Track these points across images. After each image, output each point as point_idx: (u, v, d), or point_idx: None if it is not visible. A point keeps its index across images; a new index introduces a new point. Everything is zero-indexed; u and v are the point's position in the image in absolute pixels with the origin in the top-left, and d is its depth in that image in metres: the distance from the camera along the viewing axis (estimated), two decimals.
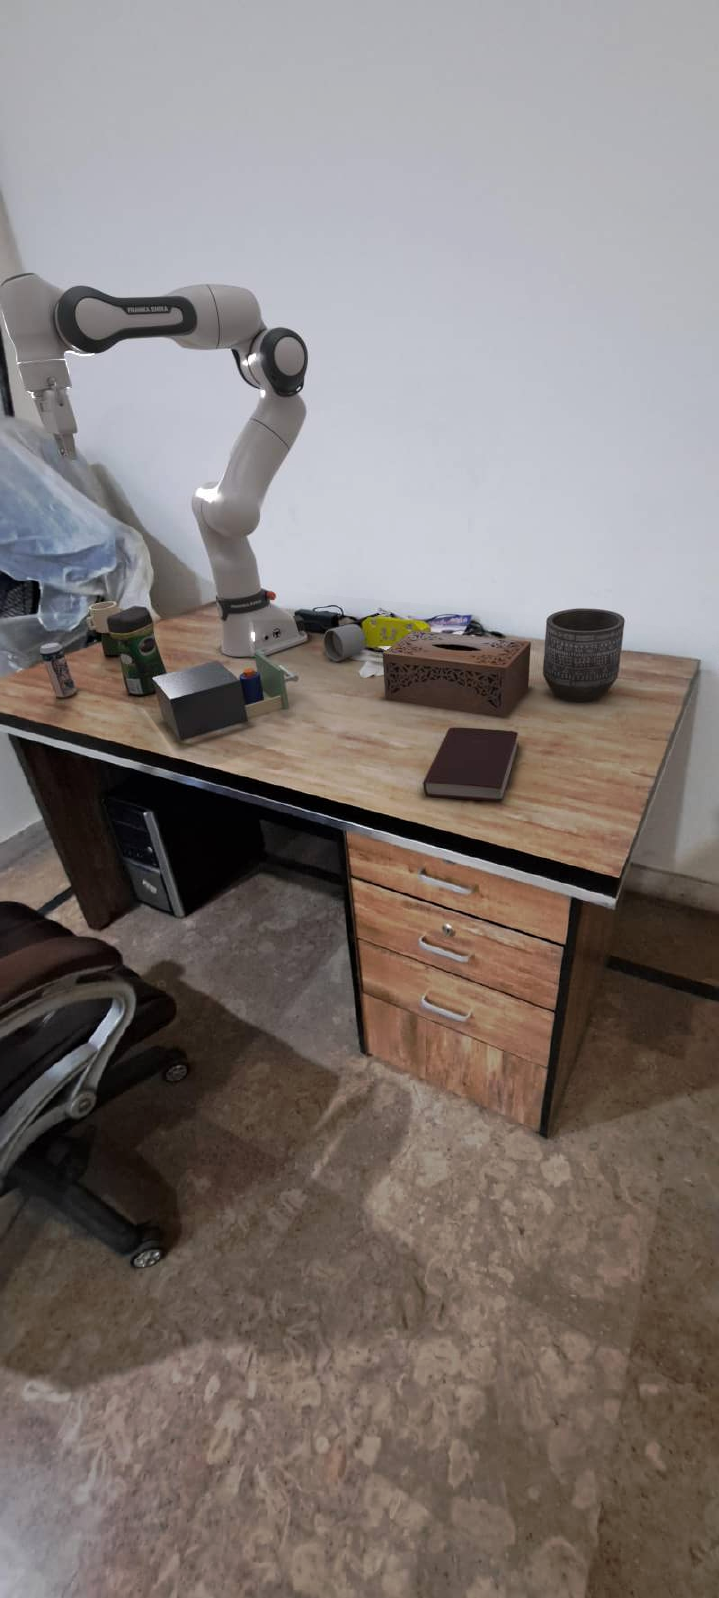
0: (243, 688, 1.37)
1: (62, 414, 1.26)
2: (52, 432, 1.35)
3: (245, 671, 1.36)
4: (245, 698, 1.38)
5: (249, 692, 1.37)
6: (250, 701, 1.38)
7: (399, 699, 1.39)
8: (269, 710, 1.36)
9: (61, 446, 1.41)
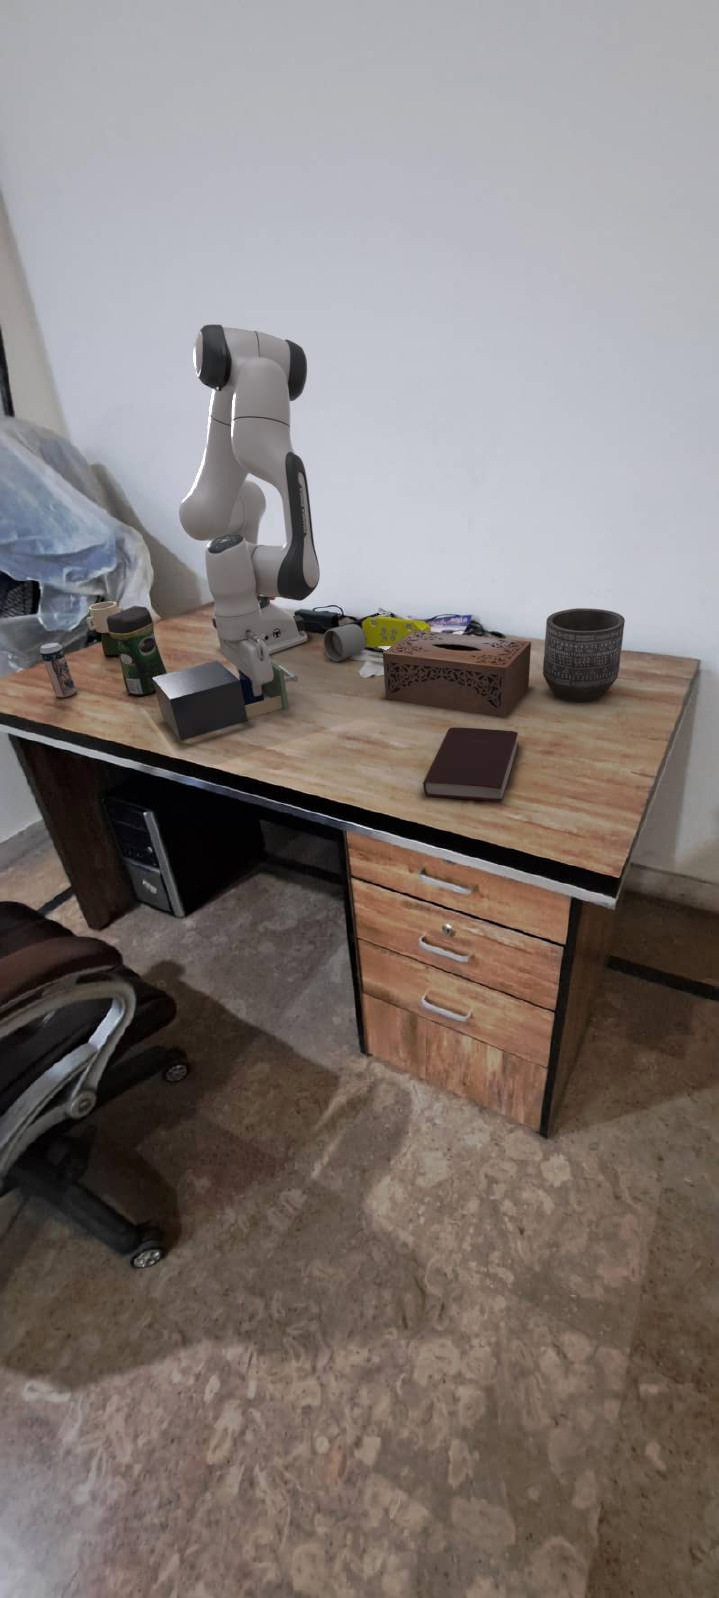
0: (243, 688, 1.37)
1: (262, 668, 1.27)
2: (239, 669, 1.36)
3: None
4: (245, 698, 1.38)
5: (249, 692, 1.37)
6: (250, 701, 1.38)
7: (399, 699, 1.39)
8: (269, 710, 1.36)
9: None
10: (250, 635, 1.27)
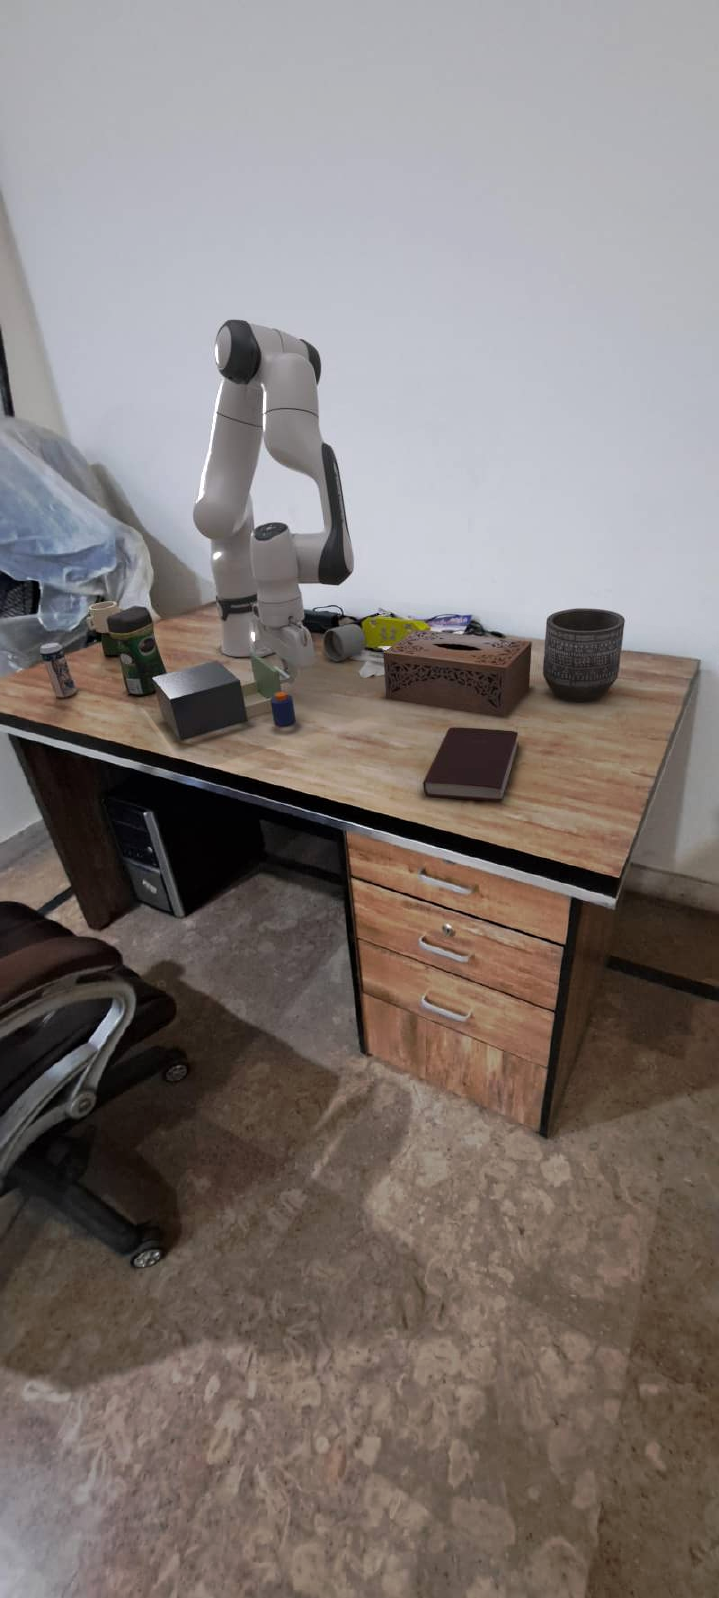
0: (275, 713, 1.29)
1: (305, 653, 1.30)
2: (280, 656, 1.39)
3: (277, 695, 1.28)
4: (277, 723, 1.30)
5: (282, 717, 1.29)
6: (282, 726, 1.30)
7: (400, 698, 1.39)
8: (264, 711, 1.36)
9: (287, 666, 1.41)
10: (293, 621, 1.29)
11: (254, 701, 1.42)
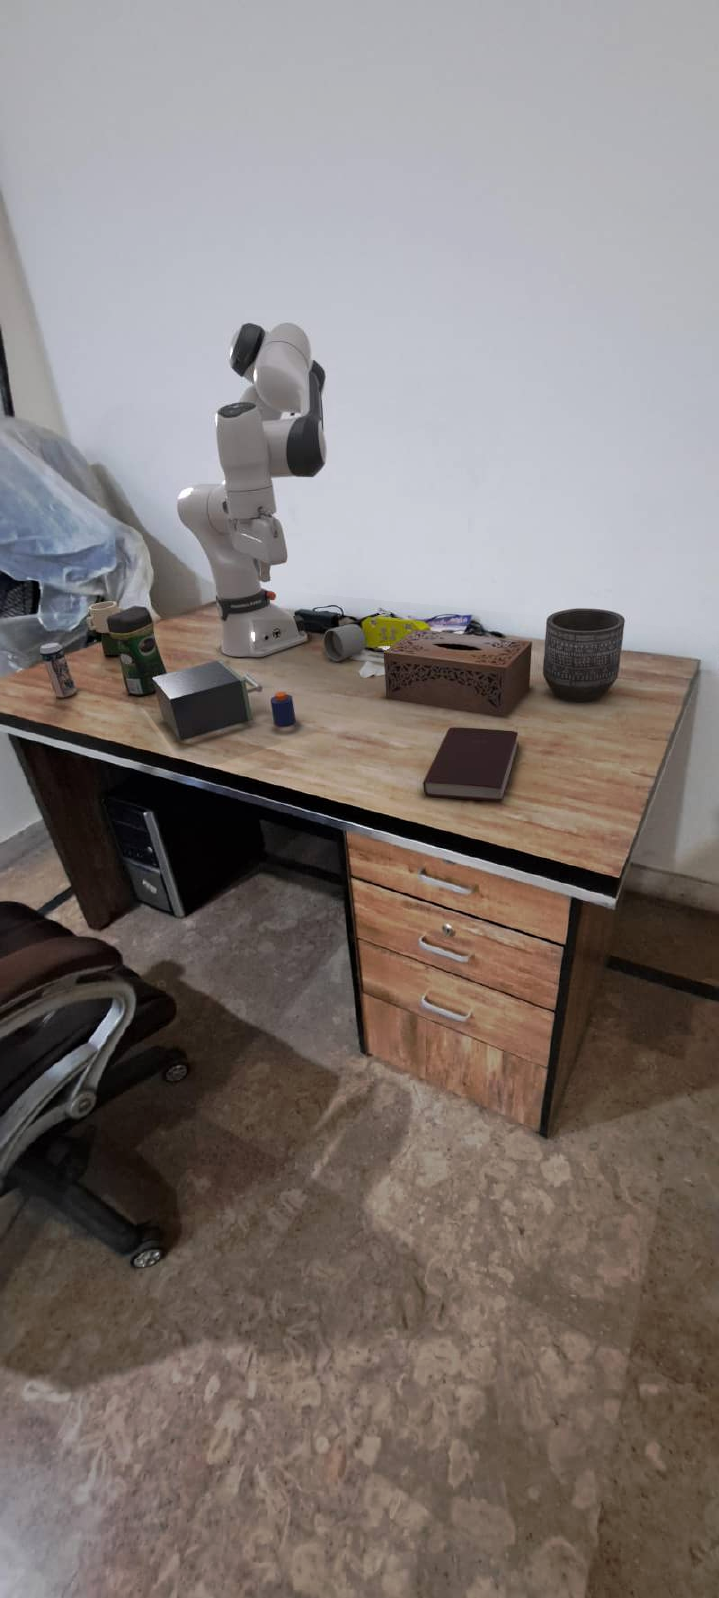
0: (275, 713, 1.29)
1: (276, 546, 1.20)
2: (251, 556, 1.29)
3: (277, 695, 1.28)
4: (277, 723, 1.30)
5: (282, 717, 1.29)
6: (282, 726, 1.30)
7: (400, 698, 1.39)
8: None
9: (259, 569, 1.31)
10: (263, 511, 1.20)
11: None
